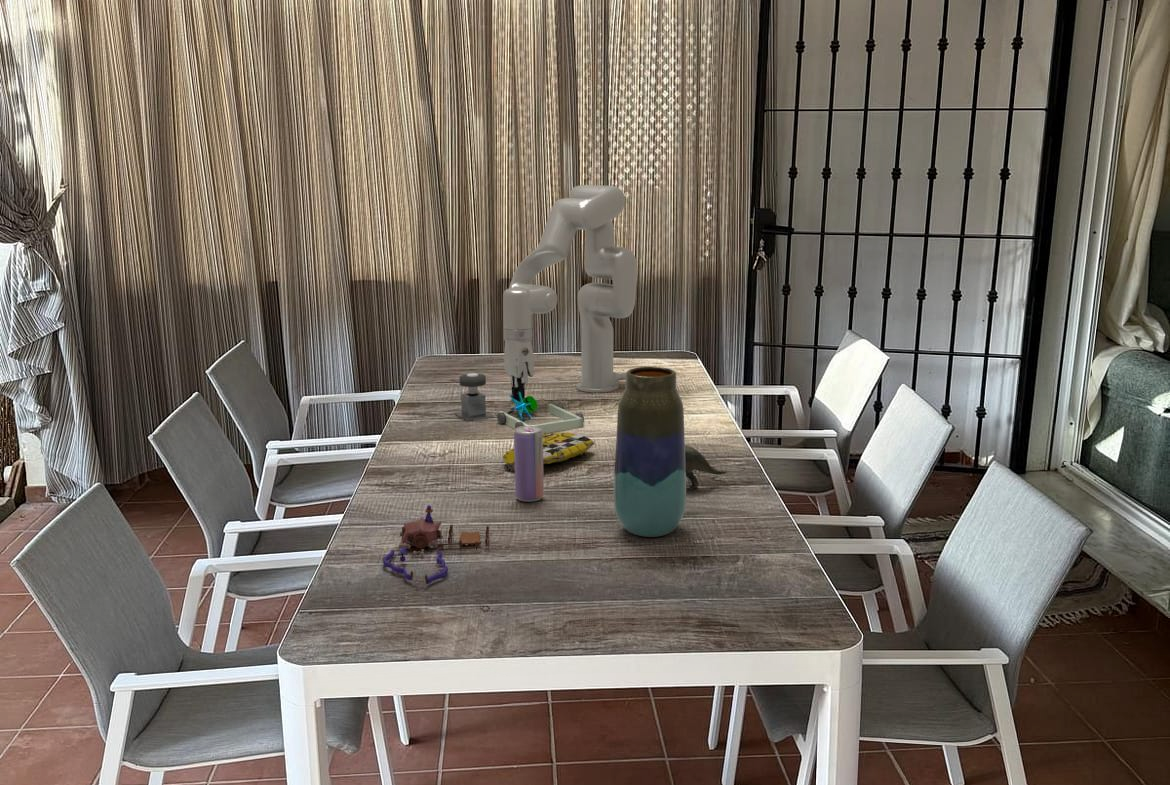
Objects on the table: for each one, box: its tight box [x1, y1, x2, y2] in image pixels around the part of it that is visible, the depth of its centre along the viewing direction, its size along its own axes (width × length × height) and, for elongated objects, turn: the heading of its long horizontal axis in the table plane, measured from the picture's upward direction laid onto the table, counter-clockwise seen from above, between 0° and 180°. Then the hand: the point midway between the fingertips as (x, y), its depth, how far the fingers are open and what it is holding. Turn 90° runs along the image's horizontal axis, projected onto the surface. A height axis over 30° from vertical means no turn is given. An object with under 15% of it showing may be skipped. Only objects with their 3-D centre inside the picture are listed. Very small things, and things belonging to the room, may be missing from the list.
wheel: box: [459, 372, 487, 394], centre depth 281 cm, size 7×7×5 cm
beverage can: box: [513, 426, 545, 503], centre depth 216 cm, size 6×6×15 cm
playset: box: [382, 504, 490, 585], centre depth 188 cm, size 25×19×7 cm
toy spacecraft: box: [502, 432, 595, 473], centre depth 243 cm, size 17×23×5 cm
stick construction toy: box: [506, 392, 538, 422], centre depth 280 cm, size 12×7×8 cm
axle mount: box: [454, 391, 494, 422], centre depth 282 cm, size 8×8×6 cm
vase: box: [613, 366, 687, 538], centre depth 196 cm, size 14×14×31 cm
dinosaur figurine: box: [685, 444, 728, 490], centre depth 222 cm, size 22×8×11 cm, turn 71°
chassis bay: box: [496, 403, 585, 434], centre depth 274 cm, size 19×18×3 cm
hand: (518, 400), depth 283 cm, fingers closed
